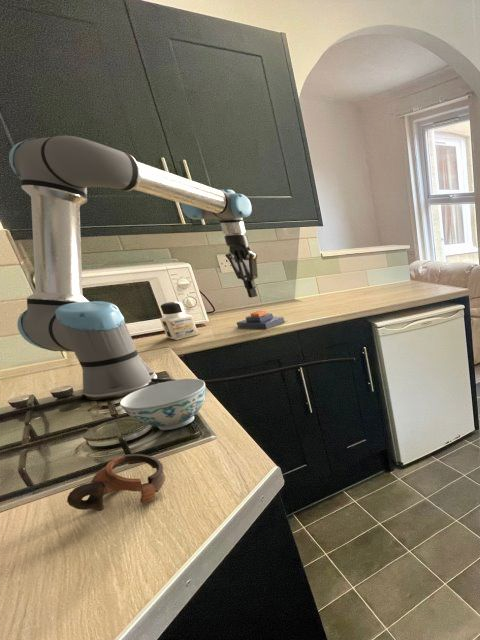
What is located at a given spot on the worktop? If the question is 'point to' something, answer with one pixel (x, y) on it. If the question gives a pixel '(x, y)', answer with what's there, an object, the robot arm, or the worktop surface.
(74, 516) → the worktop surface
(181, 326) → the container
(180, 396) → the chinaware
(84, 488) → the brown curved ring piece
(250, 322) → the blue orange stepped pyramid
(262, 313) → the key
